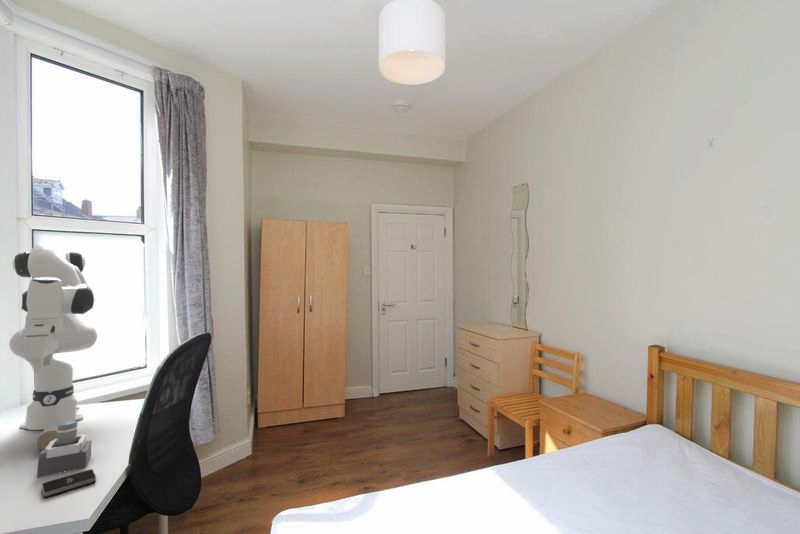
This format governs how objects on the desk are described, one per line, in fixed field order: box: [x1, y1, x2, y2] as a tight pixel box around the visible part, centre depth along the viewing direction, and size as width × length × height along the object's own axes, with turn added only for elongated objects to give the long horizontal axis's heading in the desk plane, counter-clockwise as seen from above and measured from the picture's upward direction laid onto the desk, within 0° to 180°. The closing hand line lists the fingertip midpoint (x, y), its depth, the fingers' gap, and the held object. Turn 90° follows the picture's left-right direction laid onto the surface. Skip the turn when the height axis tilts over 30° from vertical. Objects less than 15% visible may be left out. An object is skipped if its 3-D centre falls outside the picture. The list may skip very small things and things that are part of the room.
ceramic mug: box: [36, 421, 65, 451], centre depth 128 cm, size 11×8×8 cm
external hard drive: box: [41, 468, 97, 500], centre depth 104 cm, size 7×11×2 cm, turn 138°
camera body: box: [36, 433, 92, 478], centre depth 115 cm, size 9×11×8 cm
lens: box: [57, 420, 78, 447], centre depth 115 cm, size 5×5×8 cm
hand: (42, 369), depth 120 cm, fingers open, 8 cm apart
